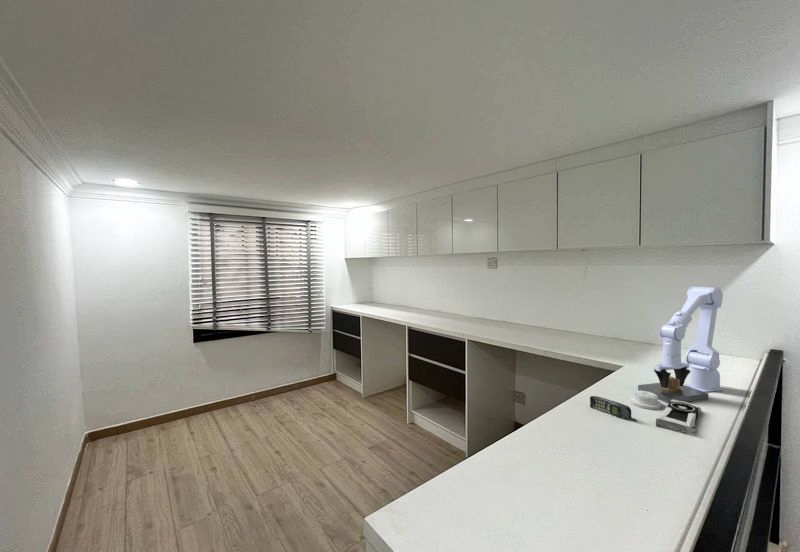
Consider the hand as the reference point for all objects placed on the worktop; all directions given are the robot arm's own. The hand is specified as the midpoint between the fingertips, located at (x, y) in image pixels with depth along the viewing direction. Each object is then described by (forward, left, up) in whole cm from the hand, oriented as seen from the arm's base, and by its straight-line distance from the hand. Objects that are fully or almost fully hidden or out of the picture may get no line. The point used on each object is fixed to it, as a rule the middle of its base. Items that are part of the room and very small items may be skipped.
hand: (671, 386), depth 134 cm
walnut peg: (0, 0, -4) cm, 4 cm away
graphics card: (+17, +18, -4) cm, 25 cm away
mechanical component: (+18, +5, -4) cm, 19 cm away
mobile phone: (+37, +9, -4) cm, 38 cm away
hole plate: (0, 0, -4) cm, 4 cm away
